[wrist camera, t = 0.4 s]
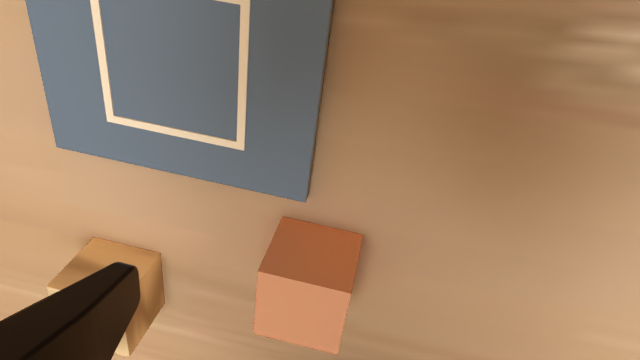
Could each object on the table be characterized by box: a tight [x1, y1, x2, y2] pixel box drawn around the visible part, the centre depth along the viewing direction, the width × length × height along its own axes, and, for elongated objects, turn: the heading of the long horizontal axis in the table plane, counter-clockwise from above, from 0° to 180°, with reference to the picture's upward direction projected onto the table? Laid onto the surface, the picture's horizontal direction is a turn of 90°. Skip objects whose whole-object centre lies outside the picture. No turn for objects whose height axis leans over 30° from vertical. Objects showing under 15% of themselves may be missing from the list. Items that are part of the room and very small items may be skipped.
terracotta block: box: [254, 217, 363, 355], centre depth 25 cm, size 4×4×4 cm
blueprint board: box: [25, 0, 334, 202], centre depth 22 cm, size 12×14×1 cm
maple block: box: [46, 237, 165, 357], centre depth 29 cm, size 4×4×4 cm
